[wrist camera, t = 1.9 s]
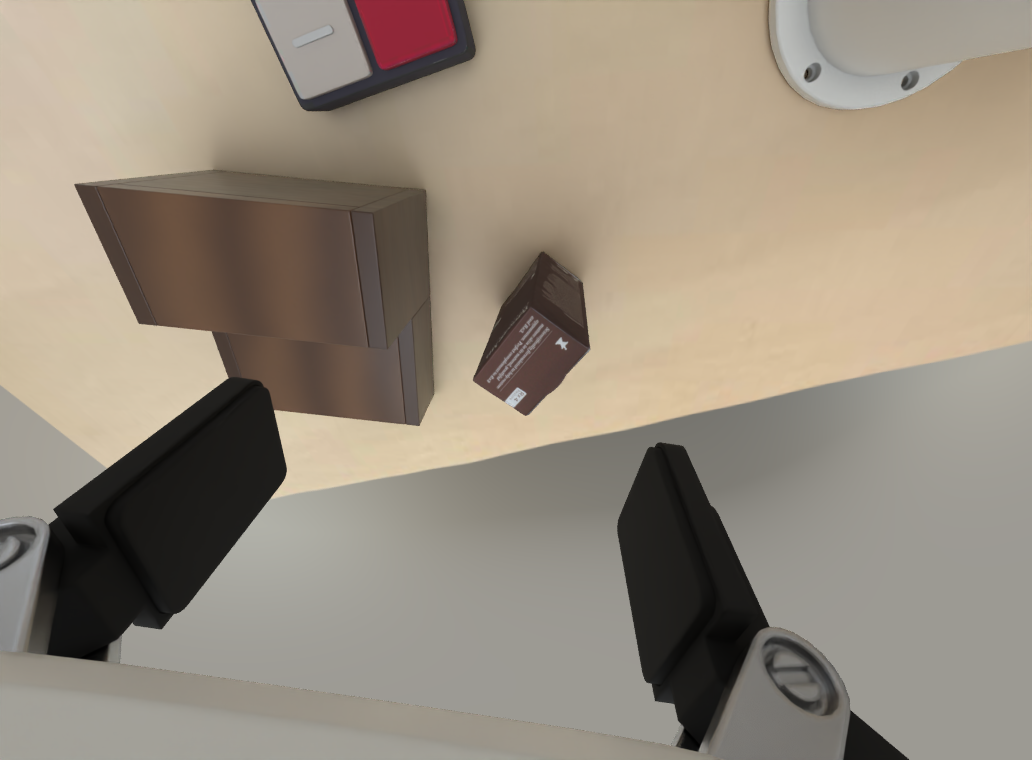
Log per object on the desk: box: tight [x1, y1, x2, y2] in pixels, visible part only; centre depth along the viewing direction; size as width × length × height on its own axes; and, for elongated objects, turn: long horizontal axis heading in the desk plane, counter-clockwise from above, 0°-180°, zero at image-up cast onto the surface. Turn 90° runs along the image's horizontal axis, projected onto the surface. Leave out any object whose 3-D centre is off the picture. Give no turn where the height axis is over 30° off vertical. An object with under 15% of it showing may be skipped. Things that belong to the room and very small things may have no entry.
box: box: [473, 252, 590, 416], centre depth 27 cm, size 6×4×12 cm
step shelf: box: [74, 170, 434, 426], centre depth 30 cm, size 16×18×10 cm
